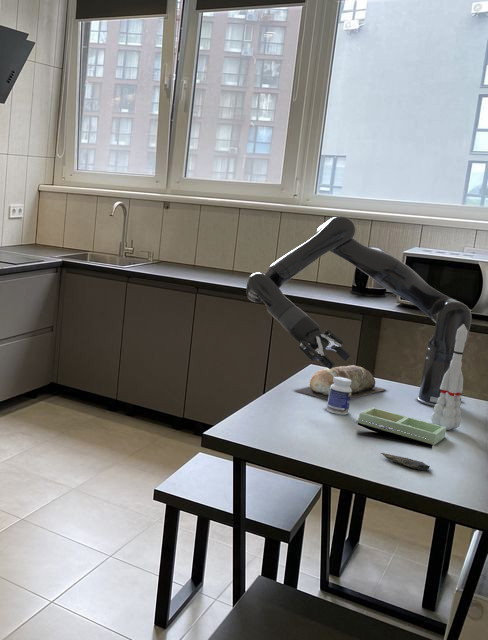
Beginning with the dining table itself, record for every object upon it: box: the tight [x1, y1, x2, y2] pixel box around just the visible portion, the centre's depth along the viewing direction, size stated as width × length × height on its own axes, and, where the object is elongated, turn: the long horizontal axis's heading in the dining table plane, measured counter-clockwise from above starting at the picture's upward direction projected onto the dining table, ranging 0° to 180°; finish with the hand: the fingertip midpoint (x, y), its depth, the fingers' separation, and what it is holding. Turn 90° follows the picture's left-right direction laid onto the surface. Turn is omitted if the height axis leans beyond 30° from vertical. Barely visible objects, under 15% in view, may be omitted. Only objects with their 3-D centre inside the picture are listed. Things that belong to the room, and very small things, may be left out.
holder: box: [357, 406, 447, 446], centre depth 203 cm, size 10×19×3 cm, turn 45°
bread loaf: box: [296, 364, 386, 400], centre depth 239 cm, size 35×18×9 cm, turn 136°
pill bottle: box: [326, 377, 352, 416], centre depth 214 cm, size 6×6×10 cm
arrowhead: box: [380, 452, 431, 471], centre depth 176 cm, size 7×10×1 cm
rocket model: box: [430, 324, 468, 431], centre depth 207 cm, size 7×7×30 cm
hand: (340, 362), depth 215 cm, fingers open, 8 cm apart
